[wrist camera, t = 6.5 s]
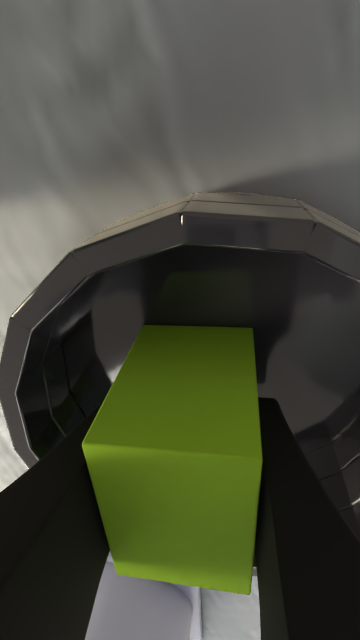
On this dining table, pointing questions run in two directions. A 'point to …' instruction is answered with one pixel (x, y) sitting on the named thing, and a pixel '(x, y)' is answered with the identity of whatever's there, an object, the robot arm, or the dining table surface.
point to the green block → (181, 458)
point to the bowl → (201, 320)
